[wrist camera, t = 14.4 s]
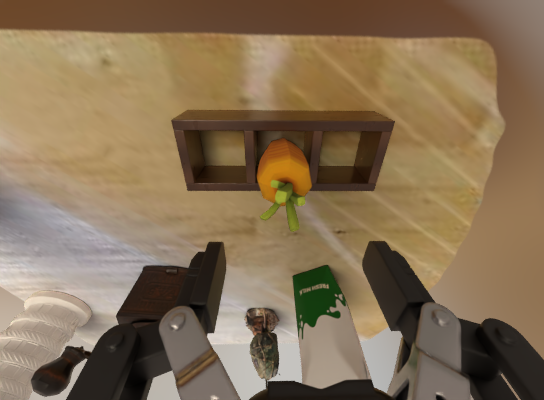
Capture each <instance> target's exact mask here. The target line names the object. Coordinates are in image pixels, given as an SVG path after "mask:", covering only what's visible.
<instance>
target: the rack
mask: <svg viewBox="0 0 544 400" xmlns="http://www.w3.org/2000/svg"><path fill="white" fill-rule="evenodd" d="M171 121H172V125H173V129H174V133H175V138H176V142H177V146H178V151H179V155H180V159H181V164H182V168H183V172H184V177H185V181H186V185H187V190H188V191H261V189H260V186H259V183H258V180H257V172H258V167H259V166H257V132H256V131H305V140H304V151H303V154H304V156H305V158H306V160H307V163H308V165H309V171H310V177H311V183H312V187H311V189H310V190H309V191H374V189H375V186H376V182H377V179H378V176H379V172H380V169H381V166H382V163H383V159H384V156H385V153H386V149H387V146H388V143H389V139H390V136H391V133H392V132H391V131H392V130H393V126H394V123H395V121H393V120H391V119H389V118H387V117H385V116H383V115H381V114H379V113H377V112H375V111H255V110H187V111H185V112H183V113H182V114H180V115H179V116H177V117H175V118H174V119H172V120H171ZM199 130H240V131H244V142H245V159H246V166H205V163H204V157H203V151H202V145H201V139H200V133H199ZM323 131H362V133H361V138H360V142H359V146H358V151H357V155H356V160H355V164H354V166H318V165H319V158H320V150H321V143H322V135H323Z"/></svg>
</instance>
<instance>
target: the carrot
mask: <svg viewBox="0 0 544 400" xmlns="http://www.w3.org/2000/svg"><path fill="white" fill-rule="evenodd" d="M257 180H258V183H259V186H260V189H261V193H262V196H263V198H264V199H266V200H268V201H270V202H273V203H274V204H273V205H272V206H271V207H270V209H269V210H267V211H266V212H265V213H264V214H262V215H261V216H260V218H261V219H262V220H267V219H269V218H270V217H271V216H272V215H274V213H275V212H276V211H277V209H278V208H279V206H285V205H286V210H287V218H288V224H289V228H290V231H291V232H294V231H296V230H298V229H299V228H300V227H299V222H298V218H297V214H296V211H295V207H294V204H296V205H297V206H302V205H304V204H305V197H304V196H305V195H306V194H307V193H308V191H309V190H310V189H311V187H312V183H311V177H310V171H309V165H308V163H307V160H306V158H305V156H304V154H303V152H302V150H301V149H300V148H298V147H297V146H296V145H295V144H293V143H292V142H290V141H288V140H287V139H285V138H281V139H277V140H273V141H271V143H270V144H269V146H268V147H267V149H266V151H265V152H264V154H263V156H262V158H261V159H260V163H259V167H258V172H257Z"/></svg>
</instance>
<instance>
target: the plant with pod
mask: <svg viewBox="0 0 544 400" xmlns="http://www.w3.org/2000/svg"><path fill="white" fill-rule="evenodd" d="M244 320H246V324H247V325H246V326H247V327H248V329H250V330H251V331H252V332H253V334H254V335H255V337H254V338H253V340H252V342H251V344H250V353H251V357H252V362H253V364H254V367H255V369H256V371H257V372H258V375H259V376H260V378H262V379H263V378H265V380H266V389H268V386H267V380H269V379H271V378H272V377H274V376H276V374H277V371H278V366H279V352H278V345H277V344H278V343H277V335H276V334H275V333H271V332H272V331H274V327H275V326H276V325H277V324H278V323H277V322H278V321H279V320H278V318H277V317H276V315H275V314H274V312H273V311H271V310H270V309H269V310H268V309H264V308H263V309H262V310H261V308H260V309H259V308H258V309H256V308H255V309H254V308H253V310H252V309H251V310H249V311H248V312H247V315H246V317H245V319H244Z"/></svg>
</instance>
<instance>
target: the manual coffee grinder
mask: <svg viewBox="0 0 544 400" xmlns="http://www.w3.org/2000/svg"><path fill="white" fill-rule="evenodd" d="M187 271H188V269H186V268H179V267H162V266H147V267H143V271H142V273H141V274H140V276H139V278H138V280H137V281H136V283H135V285H134V286H133V288H132V290H131V291H130V293H129V295H128V296H127V298H126V300H125V301H124V303H123V305H122V306H121V308H120V310H119V311H118V313H117V315H116V318H117V321H118V323H119V324H124V323H128V324H132V325H133V326H134V327H135V328H139V327H142V326H145V325H148V324H151V323H154V322H156V321H159V320H161V319H162V318H163V317H164V316H165V314H166V313H167V312H169V311H170V310H172V309H173V307H174V305H175V303H176V300H177V297H178V295H179V292H180V289H181V287H182V284H183V281H184V279H185V277H186V273H187ZM91 353H92V352H89V351H85V350H84V349H83V346H82V347H80V348H79V347H72V346H67V347H66V348H65V351H64V352H63V354H62V355H61V357H59V358H57V359H56V360H54V361H52V362H50V363H47V364H45V365H42V366H41V367H40V368H39V369H38V370H36V371H35V373H34V375H33V377H32V378H31V384H32V388H33V391H34V392H36V393H38V394H40V395H42V396H45V397H47V396H53V395H57V394H59V393H60V392H62V391H63V390H64V389H66V387H67V386H68V384H69V383H70V379H71V374H72V372H73V369H74V367H75V366H76V365H77V364H78V363H80V362H81V361H83V360H84V359H85V358H86V359H88V358H89V356H90V355H91Z"/></svg>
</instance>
